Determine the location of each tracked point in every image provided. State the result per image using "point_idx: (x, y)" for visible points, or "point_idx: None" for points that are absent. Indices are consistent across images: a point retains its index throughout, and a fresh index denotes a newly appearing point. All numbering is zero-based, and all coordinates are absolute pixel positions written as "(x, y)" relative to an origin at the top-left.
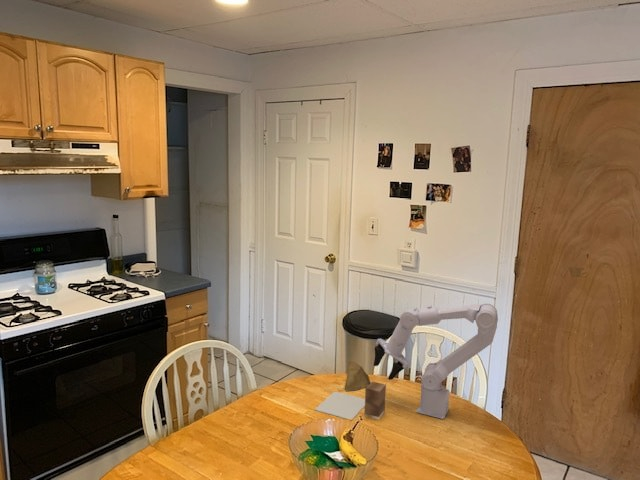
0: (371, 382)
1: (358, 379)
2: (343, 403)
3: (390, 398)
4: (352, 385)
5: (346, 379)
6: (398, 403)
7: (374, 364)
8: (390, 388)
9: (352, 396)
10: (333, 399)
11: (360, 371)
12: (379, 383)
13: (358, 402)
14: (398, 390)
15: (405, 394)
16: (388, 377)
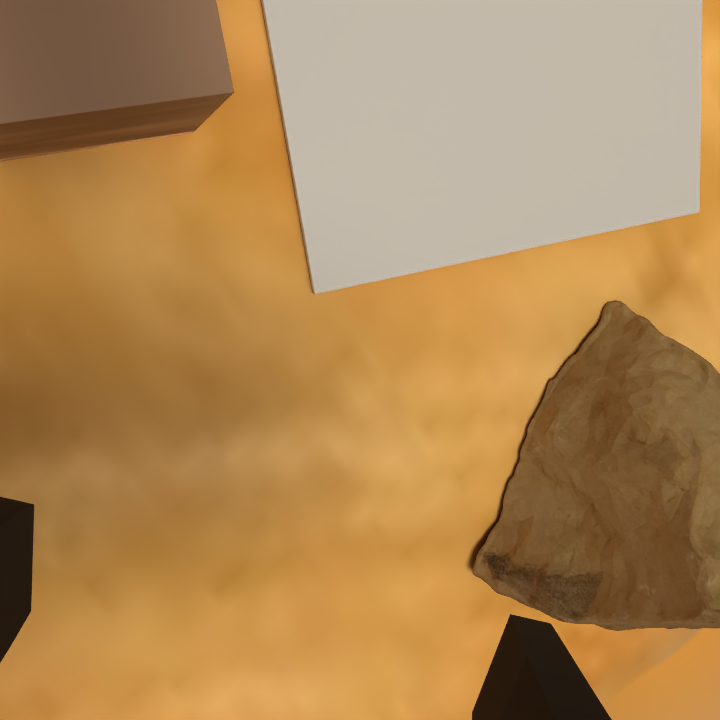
0: (212, 22)
1: (608, 478)
2: (508, 8)
3: (164, 508)
4: (607, 383)
5: (713, 369)
6: (13, 478)
7: (536, 638)
8: (295, 675)
9: (508, 236)
10: (636, 29)
11: (667, 564)
12: (3, 100)
13: (386, 151)
14: (205, 704)
15: (91, 696)
16: (7, 517)
